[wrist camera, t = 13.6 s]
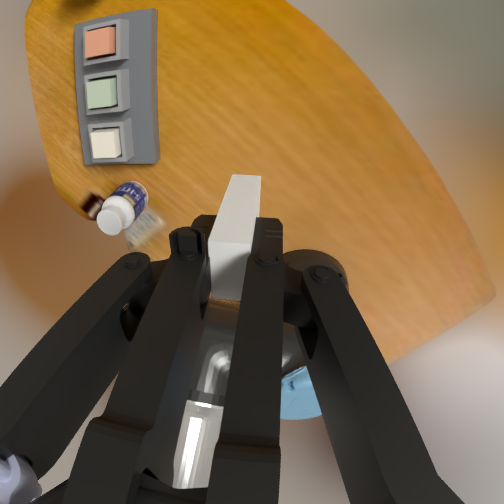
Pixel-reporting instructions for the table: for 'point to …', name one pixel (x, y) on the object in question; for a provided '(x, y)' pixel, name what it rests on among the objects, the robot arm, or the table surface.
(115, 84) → the sage button
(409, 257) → the table surface
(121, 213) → the pill bottle
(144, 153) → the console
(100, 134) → the cream button
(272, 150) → the table surface
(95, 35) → the terracotta button
